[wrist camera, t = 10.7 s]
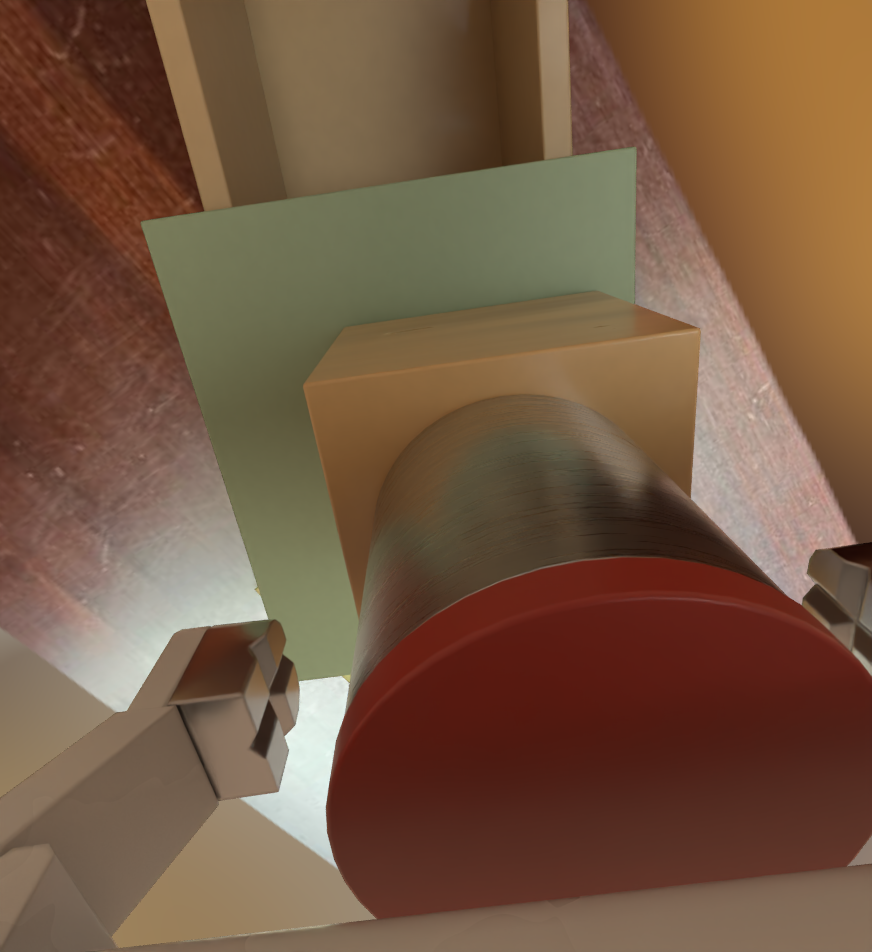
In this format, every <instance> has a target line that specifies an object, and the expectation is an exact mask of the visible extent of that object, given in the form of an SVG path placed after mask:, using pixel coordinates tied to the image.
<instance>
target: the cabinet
mask: <svg viewBox="0 0 872 952" xmlns="http://www.w3.org/2000/svg"><path fill="white" fill-rule="evenodd" d="M141 226H142V229H143V232H144V236H145V239H146V242H147V245H148V248H149V251H150V254H151V257H152V260H153V263H154V266H155V270H156V273H157V276H158V279H159V282H160V285H161V288H162V291H163V294H164V297H165V301H166V304H167V307H168V310H169V313H170V316H171V319H172V322H173V325H174V328H175V331H176V335H177V338H178V341H179V344H180V347H181V350H182V353H183V356H184V359H185V362H186V365H187V369H188V372H189V375H190V378H191V381H192V384H193V387H194V390H195V393H196V396H197V400H198V403H199V406H200V409H201V412H202V415H203V418H204V421H205V424H206V427H207V430H208V434H209V437H210V440H211V443H212V446H213V449H214V452H215V455H216V458H217V461H218V465H219V468H220V471H221V474H222V477H223V480H224V483H225V486H226V489H227V492H228V495H229V499H230V502H231V505H232V508H233V511H234V514H235V517H236V520H237V523H238V526H239V529H240V533H241V536H242V539H243V542H244V545H245V548H246V551H247V554H248V557H249V560H250V564H251V567H252V570H253V573H254V576H255V579H256V582H257V585H258V588H259V591H260V594H261V598H262V601H263V604H264V607H265V610H266V613H267V616H268V619H269V620H270V619H276V620H277V621H279V622H280V623H281V625H282V628H283V630H284V633H285V636H286V639H287V641H286V644H285V648H284V651H283V655H285V656H286V657H287V658H289V659H290V660H291V661H293V662H294V665H295V668H296V671H297V675H298V681H304V680H312V679H320V678H328V677H336V676H344V675H351V671H352V664H353V657H354V651H355V644H356V637H357V631H358V624H359V619H358V615H357V610H356V606H355V602H354V598H353V594H352V590H351V585H350V581H349V577H348V573H347V569H346V565H345V560H344V556H343V552H342V548H341V544H340V540H339V535H338V531H337V527H336V523H335V519H334V515H333V510H332V506H331V502H330V498H329V494H328V490H327V485H326V481H325V477H324V473H323V469H322V465H321V460H320V456H319V452H318V448H317V444H316V440H315V435H314V431H313V427H312V423H311V419H310V415H309V410H308V406H307V402H306V398H305V394H304V390H303V384H304V383H305V381H306V380H307V378H308V377H309V376H310V374H311V373H312V372H313V370H314V369H315V367H316V366H317V365H318V363H319V362H320V360H321V359H322V358H323V356H324V355H325V353H326V352H327V351H328V349H329V348H330V346H331V345H332V344H333V342H334V341H335V340H336V338H337V337H338V335H339V334H340V333H341V331H342V330H343V328H345V327H348V326H355V325H362V324H369V323H376V322H383V321H390V320H397V319H404V318H411V317H418V316H425V315H432V314H439V313H446V312H453V311H460V310H467V309H474V308H480V307H487V306H494V305H501V304H508V303H515V302H522V301H529V300H536V299H543V298H550V297H557V296H564V295H571V294H578V293H585V292H592V291H600V292H603V293H605V294H608V295H611V296H613V297H616V298H619V299H622V300H624V301H627V302H630V303H632V304H635V233H636V147H628V148H621V149H615V150H608V151H601V152H595V153H588V154H582V155H575V156H568V157H562V158H555V159H548V160H542V161H535V162H529V163H522V164H515V165H509V166H502V167H495V168H489V169H482V170H476V171H469V172H462V173H456V174H449V175H442V176H436V177H429V178H423V179H416V180H409V181H403V182H396V183H390V184H383V185H376V186H370V187H363V188H356V189H350V190H343V191H337V192H330V193H323V194H317V195H310V196H303V197H297V198H290V199H284V200H277V201H270V202H264V203H257V204H250V205H244V206H237V207H231V208H224V209H217V210H211V211H204V212H197V213H191V214H184V215H178V216H171V217H164V218H158V219H151V220H145V221H141Z"/></svg>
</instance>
